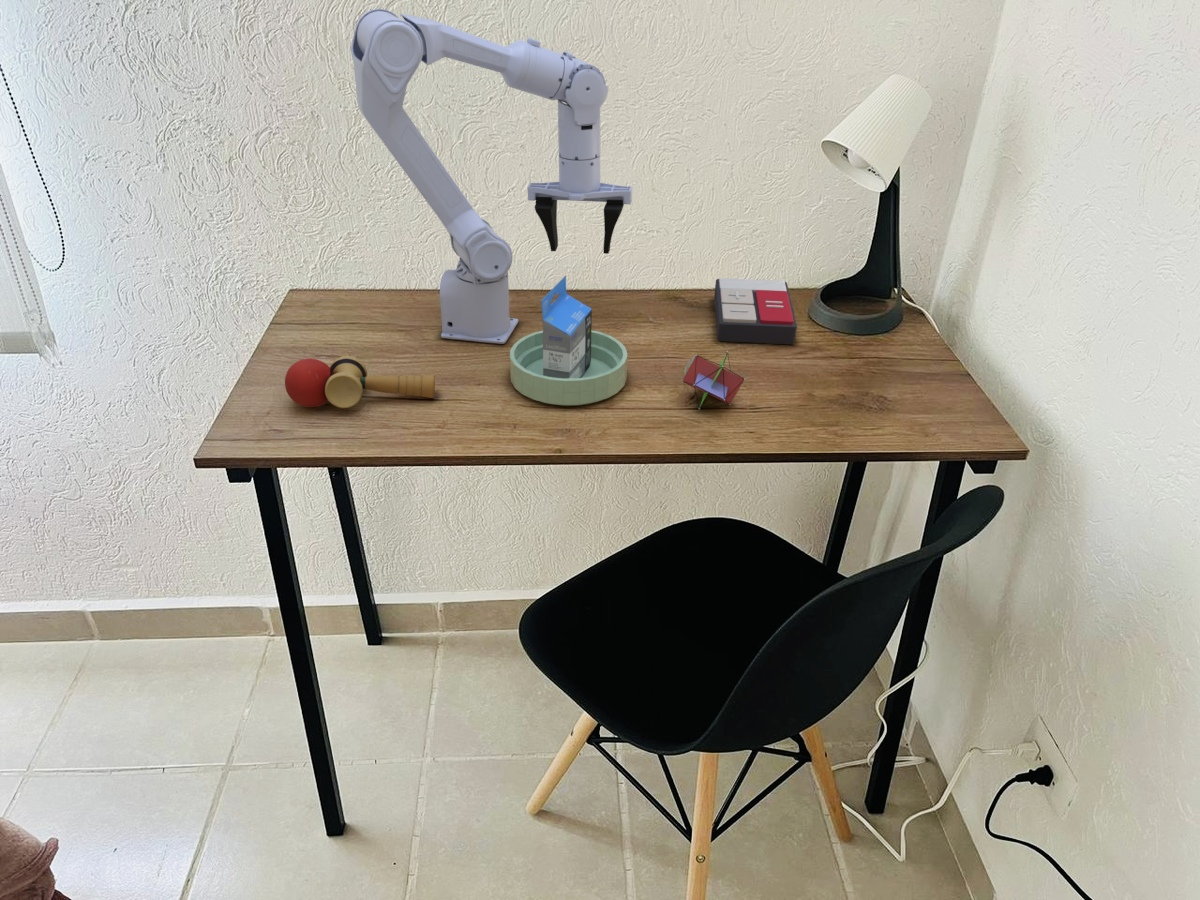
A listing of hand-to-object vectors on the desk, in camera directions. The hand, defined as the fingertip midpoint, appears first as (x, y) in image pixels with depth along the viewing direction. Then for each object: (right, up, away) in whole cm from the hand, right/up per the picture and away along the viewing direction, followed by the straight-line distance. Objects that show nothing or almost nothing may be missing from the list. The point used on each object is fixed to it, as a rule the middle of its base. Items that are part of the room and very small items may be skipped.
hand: (580, 250), depth 132 cm
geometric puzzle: (+17, -23, -16) cm, 33 cm away
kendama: (-27, -23, -17) cm, 39 cm away
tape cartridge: (-1, -20, -12) cm, 23 cm away
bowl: (-1, -20, -12) cm, 23 cm away
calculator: (+26, -10, +5) cm, 28 cm away
